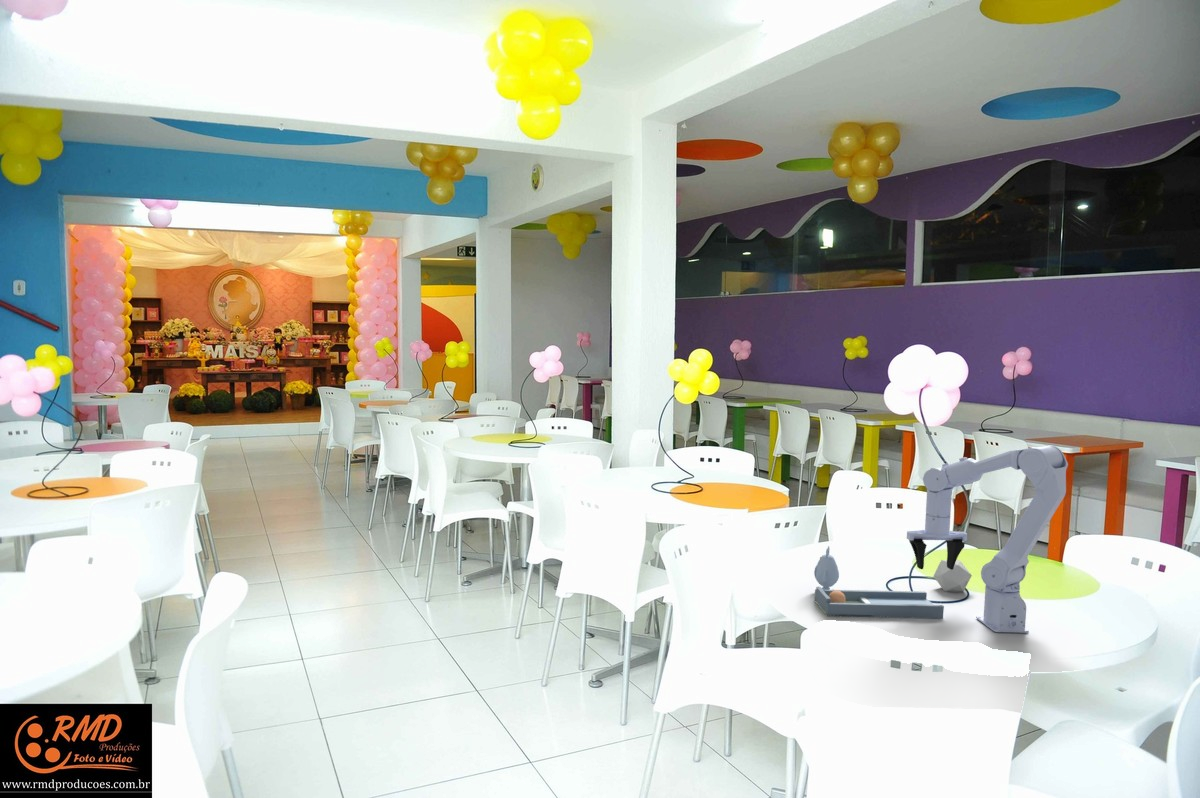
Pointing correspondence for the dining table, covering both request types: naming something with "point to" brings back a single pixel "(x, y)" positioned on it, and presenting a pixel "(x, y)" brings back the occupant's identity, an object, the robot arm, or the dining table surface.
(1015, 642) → the dining table surface
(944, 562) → the die
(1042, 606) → the dining table surface
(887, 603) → the lane
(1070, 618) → the dining table surface
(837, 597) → the ball
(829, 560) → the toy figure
